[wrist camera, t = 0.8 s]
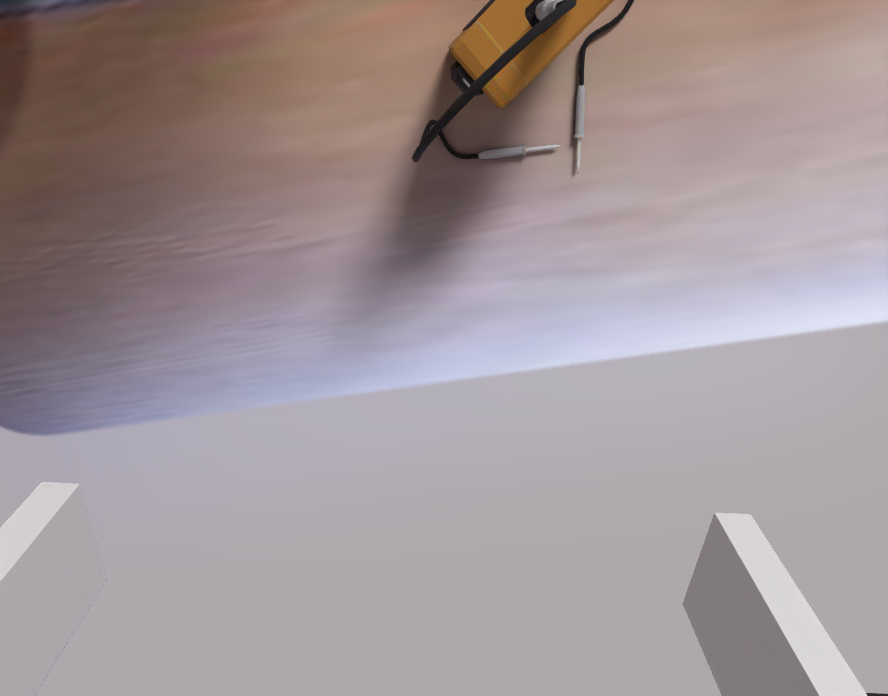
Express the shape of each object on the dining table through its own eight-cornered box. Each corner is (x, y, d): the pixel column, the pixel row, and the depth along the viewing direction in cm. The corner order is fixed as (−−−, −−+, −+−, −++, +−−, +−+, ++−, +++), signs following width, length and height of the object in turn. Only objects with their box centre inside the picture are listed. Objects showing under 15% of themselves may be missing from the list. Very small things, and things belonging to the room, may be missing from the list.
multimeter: (515, 226, 36) (585, 401, 19) (398, 98, 33) (345, 160, 15) (725, 39, 32) (1084, 33, 14) (613, -132, 29) (895, -422, 11)
